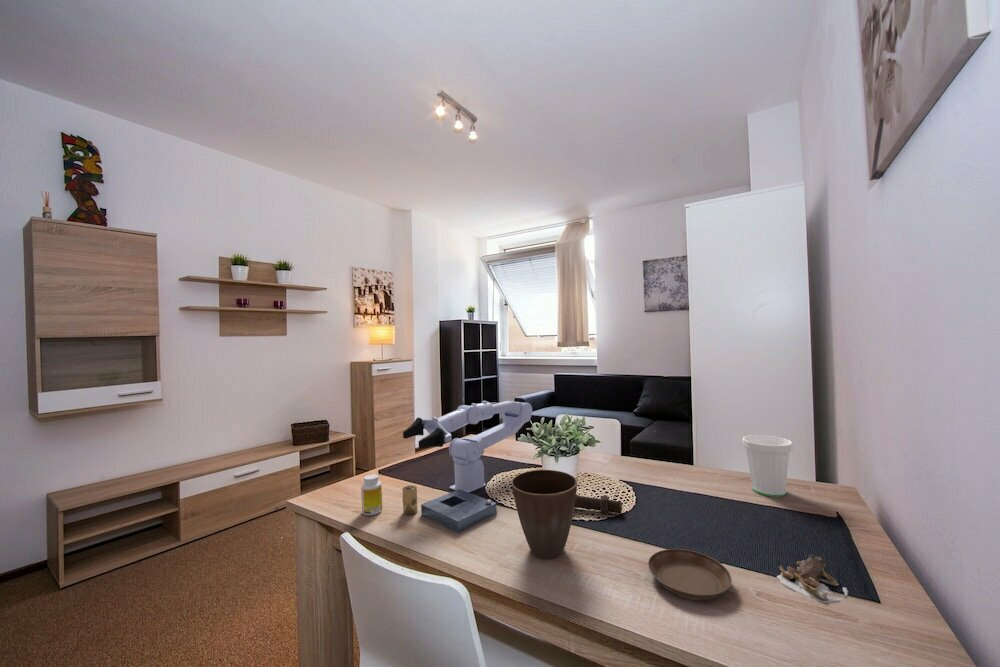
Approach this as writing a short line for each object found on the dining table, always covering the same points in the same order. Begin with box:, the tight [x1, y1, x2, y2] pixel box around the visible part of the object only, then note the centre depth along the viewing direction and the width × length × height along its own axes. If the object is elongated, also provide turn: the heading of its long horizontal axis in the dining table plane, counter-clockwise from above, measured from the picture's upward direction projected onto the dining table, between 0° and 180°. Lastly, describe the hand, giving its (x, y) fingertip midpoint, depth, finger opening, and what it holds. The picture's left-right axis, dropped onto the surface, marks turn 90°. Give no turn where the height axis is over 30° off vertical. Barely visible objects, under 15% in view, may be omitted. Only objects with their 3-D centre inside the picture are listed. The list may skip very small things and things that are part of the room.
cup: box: [741, 434, 794, 498], centre depth 118 cm, size 12×12×15 cm
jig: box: [420, 489, 498, 534], centre depth 111 cm, size 14×16×4 cm
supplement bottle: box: [360, 474, 383, 517], centre depth 115 cm, size 6×6×10 cm
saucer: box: [647, 548, 733, 601], centre depth 78 cm, size 15×15×3 cm
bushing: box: [401, 484, 419, 516], centre depth 114 cm, size 4×4×7 cm
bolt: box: [574, 494, 623, 516], centre depth 110 cm, size 6×5×15 cm
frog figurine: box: [776, 554, 849, 604], centre depth 77 cm, size 12×12×4 cm
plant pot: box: [511, 469, 578, 560], centre depth 91 cm, size 15×15×16 cm
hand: (411, 440), depth 115 cm, fingers open, 7 cm apart
